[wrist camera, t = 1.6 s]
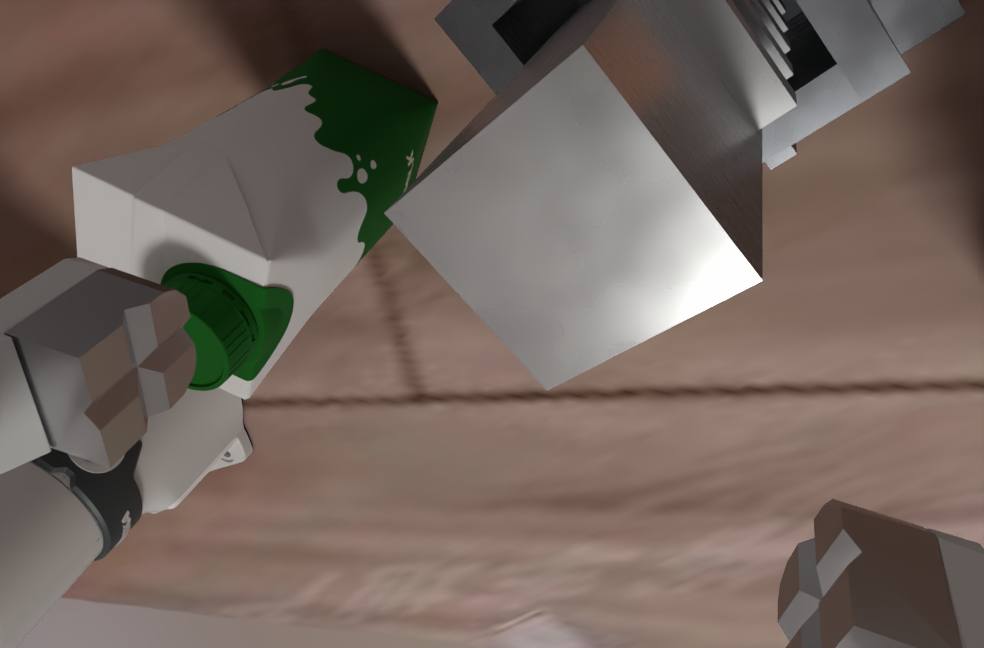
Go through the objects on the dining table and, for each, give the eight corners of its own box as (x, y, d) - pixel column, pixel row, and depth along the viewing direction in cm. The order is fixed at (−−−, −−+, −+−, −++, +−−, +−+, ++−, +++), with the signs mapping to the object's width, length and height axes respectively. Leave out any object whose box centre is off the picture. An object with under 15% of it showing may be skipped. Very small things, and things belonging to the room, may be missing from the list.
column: (667, 66, 33) (547, 390, 15) (604, -20, 32) (383, 213, 13) (784, -22, 30) (820, 251, 11) (718, -122, 29) (638, -3, 10)
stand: (644, 209, 39) (610, 321, 30) (446, -40, 35) (343, 8, 26) (960, 8, 30) (1040, 87, 21) (744, -363, 26) (734, -451, 17)
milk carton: (418, 224, 44) (227, 451, 28) (285, 162, 44) (25, 353, 29) (458, 92, 38) (251, 284, 23) (306, 22, 39) (-1, 164, 23)
